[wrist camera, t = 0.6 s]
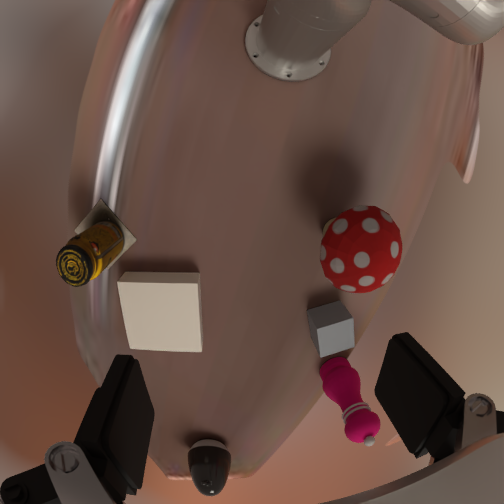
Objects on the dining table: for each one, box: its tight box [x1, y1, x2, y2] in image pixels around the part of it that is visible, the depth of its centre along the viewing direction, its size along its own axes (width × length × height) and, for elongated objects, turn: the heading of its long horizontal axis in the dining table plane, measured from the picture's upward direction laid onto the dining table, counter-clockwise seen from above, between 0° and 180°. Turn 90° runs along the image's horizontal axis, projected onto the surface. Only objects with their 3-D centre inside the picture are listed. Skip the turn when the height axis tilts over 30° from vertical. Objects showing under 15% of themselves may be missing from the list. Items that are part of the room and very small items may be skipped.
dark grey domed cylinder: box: [188, 439, 231, 496], centre depth 50 cm, size 10×10×15 cm
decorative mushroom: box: [320, 206, 402, 294], centre depth 35 cm, size 11×11×15 cm
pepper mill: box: [320, 357, 380, 446], centre depth 42 cm, size 7×7×20 cm
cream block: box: [117, 272, 203, 352], centre depth 42 cm, size 12×12×4 cm
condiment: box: [56, 199, 136, 287], centre depth 34 cm, size 7×8×12 cm
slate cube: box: [307, 300, 354, 358], centre depth 45 cm, size 6×6×6 cm
